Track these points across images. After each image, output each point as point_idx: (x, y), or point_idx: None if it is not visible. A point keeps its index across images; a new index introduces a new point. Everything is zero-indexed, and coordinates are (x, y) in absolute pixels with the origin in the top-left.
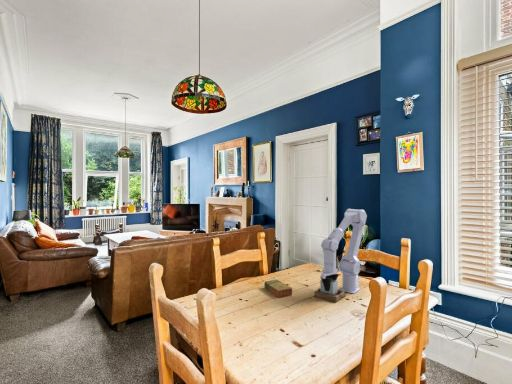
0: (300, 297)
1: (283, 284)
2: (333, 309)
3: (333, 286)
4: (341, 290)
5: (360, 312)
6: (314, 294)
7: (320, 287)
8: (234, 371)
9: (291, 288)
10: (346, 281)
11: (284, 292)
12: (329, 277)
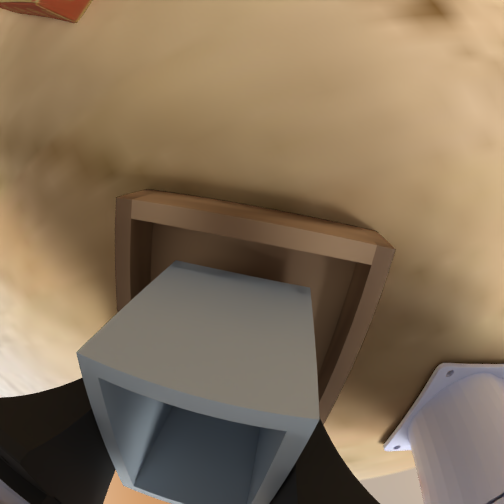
0: (65, 96)
1: None
2: (62, 370)
3: (147, 459)
4: (428, 381)
5: None
6: (137, 192)
7: (149, 285)
8: None
9: (33, 3)
10: (435, 478)
11: (18, 8)
12: (288, 501)
